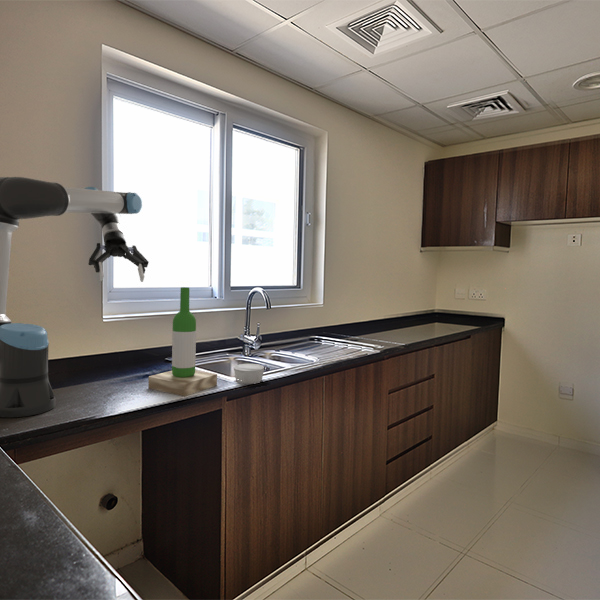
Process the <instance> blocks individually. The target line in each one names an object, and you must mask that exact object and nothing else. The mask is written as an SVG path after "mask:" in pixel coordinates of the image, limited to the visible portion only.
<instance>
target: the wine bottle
mask: <svg viewBox="0 0 600 600" xmlns="http://www.w3.org/2000/svg"><path fill="white" fill-rule="evenodd" d="M179 295H180V299H179V302H180V303H179V311H178V312H177V313H175V315H174V317H173V319H172V336H171V337H172V338H171V339H172V341H171V345H172V346H171V347H172V349H171V351H172V352H171V353H172V354H171V371H172V374H173V375H174V376H175V377H190V376H193V375H194V374H195V370H196V359H197V358H196V357H197V355H196V354H197V353H196V351H197V350H196V348H197V347H196V345H197V319H196V316H195V315H194V314H193V313H192V312H191V311H190V287H184V286H183V287H180V293H179Z"/></svg>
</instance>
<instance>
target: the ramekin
mask: <svg viewBox="0 0 600 600" xmlns="http://www.w3.org/2000/svg"><path fill="white" fill-rule="evenodd" d="M233 371H234V377H235V380H236V382H237V383H239V384H245V385H253V384H254V385H255V384H258V383H260V382H262V380H263V375H264V371H265V366H264V365H262V364H259V363H258V364H257V363H239V364H236V365H234V366H233ZM237 379H239V380H237ZM240 380H242V381H240Z"/></svg>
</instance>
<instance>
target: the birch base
mask: <svg viewBox="0 0 600 600" xmlns="http://www.w3.org/2000/svg"><path fill="white" fill-rule="evenodd" d="M217 386H218V374H217V373H212V372H207V371H202V370H198V369H195V374H194V375H193V376H190V377H175V376H174V375H173V374H172V370H169V371H165V372H161V373H157V374H152V375H149V376H148V389H150V390H151V389H152V390H153V391H154V390H155V391H158V392H164V393H167V394H171V395H175V396H176V395H177V396H180V397H186V396H189V395H192V394H195V393H199V392H201V391H204V390H208V389H211V388H213V387H217Z"/></svg>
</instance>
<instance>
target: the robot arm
mask: <svg viewBox="0 0 600 600" xmlns="http://www.w3.org/2000/svg"><path fill="white" fill-rule="evenodd" d="M142 209H143V201H142V197H141V196H140V194H138V193H137V192H131V191H130V192H129V191H128V192H122V191H121V192H118V191H110V190H109V191H108V190H100V189H98V188H96V187H95V186H87V187H85V188H80V187H79V188H78V187H69V186H68V187H67V186H63V184H60V183H58V182H53V181H46V180H40V179H36V178H35V179H34V178H29V177H23V176H10V177H9V176H6V177H5V176H0V418H10V419H11V418H22V417H23V418H24V417H30V416H34V415H38V414H43V413H46V412H49V411H50V410H52V409H54V408H55V407H56V396H55V393H54V391H53V388H52V386H51V383H50V380H49V344H50V343H49V338H48V335H49V334H48V332H47V329H45V328H44V327H43V326H41V325H38V324H33V323H23V322H22V323H21V322H19V323H18V322H14V323H12V320H11V319H10V318H9V317H8V316H7V315H6V314H7V300H8V287H9V277H10V276H9V275H10V273H9V272H10V262H11V260H10V259H11V249H12V235H13V233H14V232H15V231H17V230H19V226H20V225H19V224H20V220H28V219H36V218H43V217H55V216H56V217H58V216H60V217H61V216H63V215H64V214H66V213H68V214H69V213H72V214H73V213H77V214H78V213H80V214H90V215H92V216H93V218H94V220H96V221H97V222H98V223H99V224H100V227H101V233H102V237H103V238H102V239H103V244H101V243H100V242H97V243H96V246H95V249H94V251H93V252H92V254H91V256H90V257H89V260H88V266H93V268H94V270H95V272H96V273H98V276H99V282H103V280H104V269H103V265H102V263H103V262H105V261H106V260H107V259H109V258H111V256H112V257H114V258H115V257H116V258H117V257H118V258H123V259H125V260H128V261H130V262H131V263H133V265H135V266H136V267H137V272H138V277H139V280H140V283H143V282H144V279H145V273H146V268H148V266H149V261H148V259H147V258H145V256H144V255H143V254H142V253H141V252H140V251H139V250H138V248H137V245H132V246H128V245H127V241H126V237H125V232H124V227H123V224H122V218H121V215H124V214H125V215H134V214H140V212H141V211H142ZM102 251H103V253H102V254H101V255H100V256H99V254H100V253H101V252H102ZM104 251H105V252H104Z"/></svg>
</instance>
